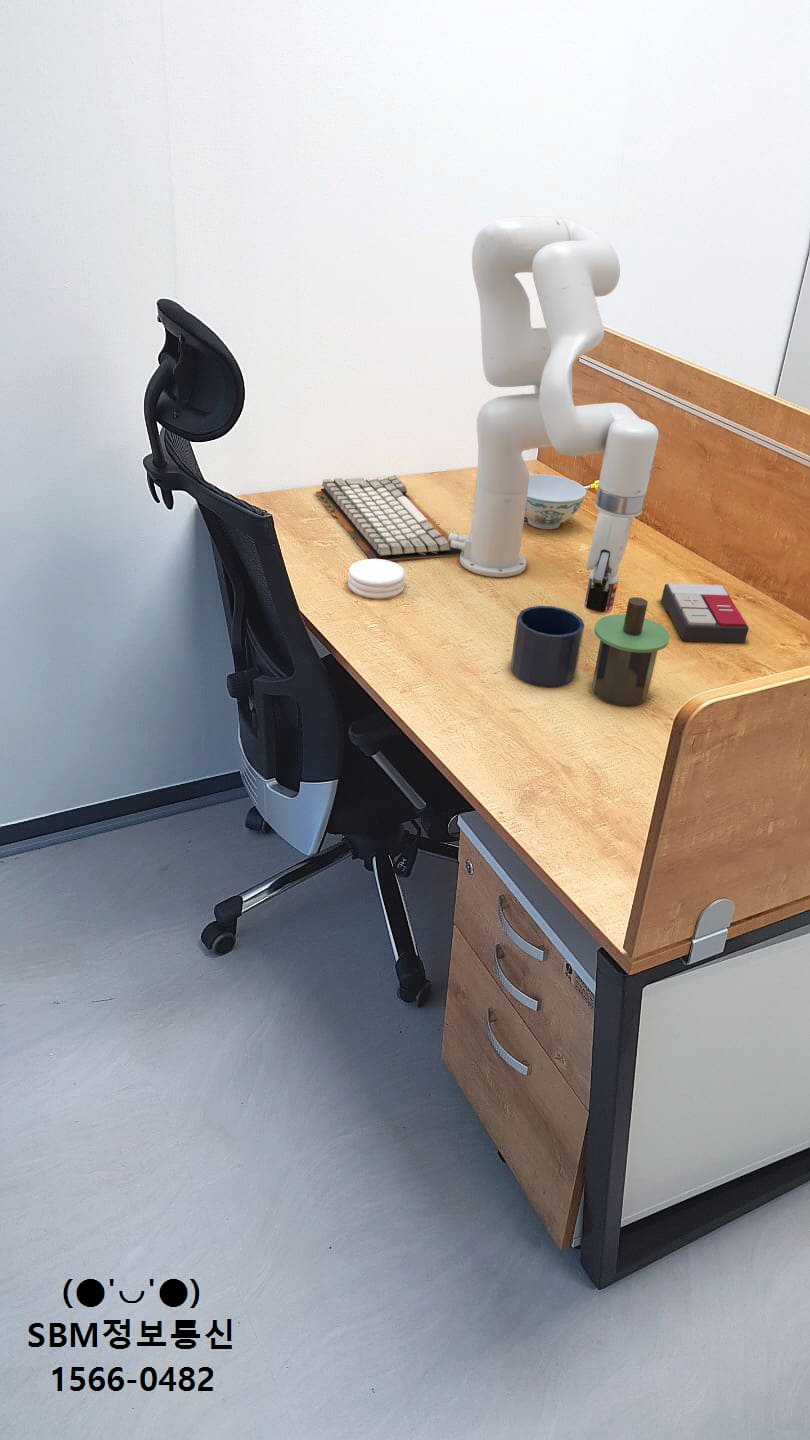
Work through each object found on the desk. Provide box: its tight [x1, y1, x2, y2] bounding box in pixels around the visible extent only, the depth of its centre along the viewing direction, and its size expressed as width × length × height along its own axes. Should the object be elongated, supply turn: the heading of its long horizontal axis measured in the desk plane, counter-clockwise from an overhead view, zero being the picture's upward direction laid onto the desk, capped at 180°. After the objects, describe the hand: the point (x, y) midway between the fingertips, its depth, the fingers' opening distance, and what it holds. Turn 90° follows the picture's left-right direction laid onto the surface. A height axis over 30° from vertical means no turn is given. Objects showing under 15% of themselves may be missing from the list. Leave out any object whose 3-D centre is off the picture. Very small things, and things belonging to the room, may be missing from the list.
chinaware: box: [524, 473, 587, 530], centre depth 225 cm, size 15×15×8 cm
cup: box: [591, 639, 659, 708], centre depth 168 cm, size 9×9×10 cm
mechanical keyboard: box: [314, 474, 462, 562], centre depth 221 cm, size 38×19×3 cm, turn 22°
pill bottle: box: [583, 565, 620, 616], centre depth 181 cm, size 5×5×8 cm
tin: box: [510, 605, 585, 689], centre depth 172 cm, size 10×10×9 cm
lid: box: [593, 596, 671, 653], centre depth 164 cm, size 11×11×6 cm
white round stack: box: [347, 558, 406, 600], centre depth 195 cm, size 10×10×4 cm
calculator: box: [660, 582, 750, 644], centre depth 192 cm, size 11×4×15 cm
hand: (599, 601), depth 182 cm, fingers closed on pill bottle, 4 cm apart
